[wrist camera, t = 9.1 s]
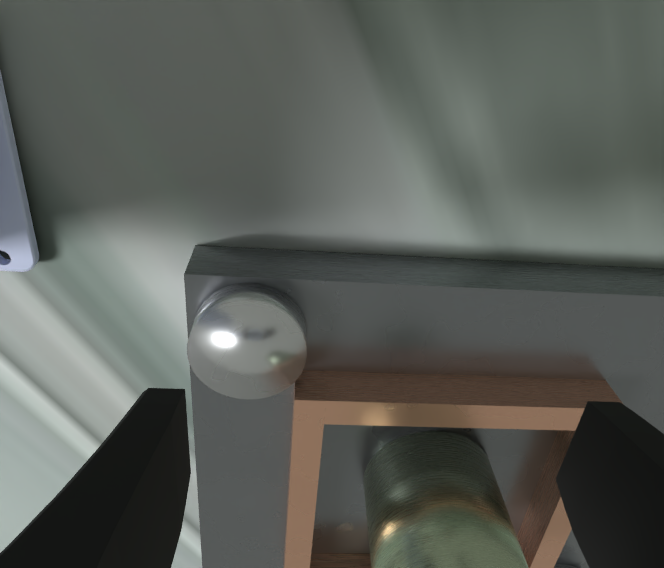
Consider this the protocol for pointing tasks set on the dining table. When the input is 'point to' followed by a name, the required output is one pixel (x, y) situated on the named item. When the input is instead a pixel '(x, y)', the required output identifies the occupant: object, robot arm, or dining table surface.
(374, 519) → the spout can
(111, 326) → the dining table surface
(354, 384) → the grey square slab
